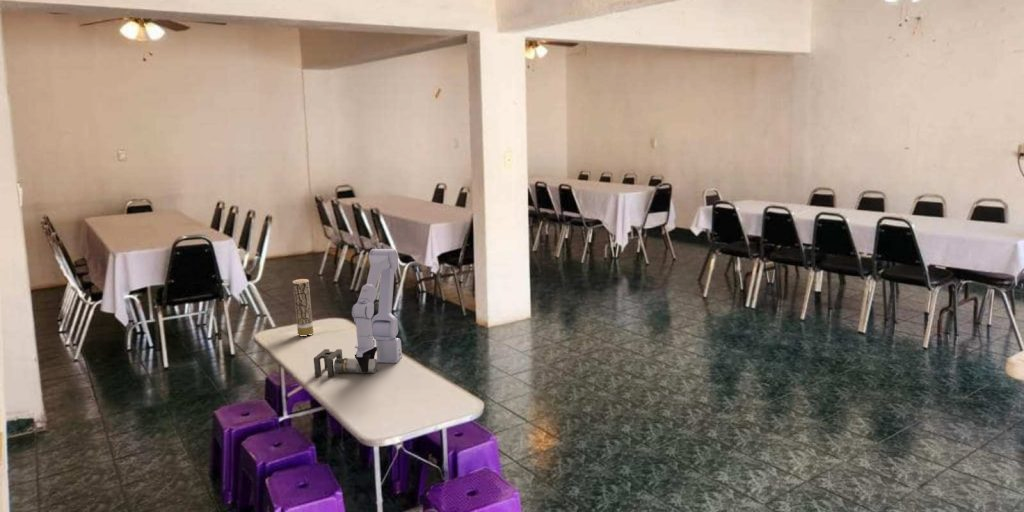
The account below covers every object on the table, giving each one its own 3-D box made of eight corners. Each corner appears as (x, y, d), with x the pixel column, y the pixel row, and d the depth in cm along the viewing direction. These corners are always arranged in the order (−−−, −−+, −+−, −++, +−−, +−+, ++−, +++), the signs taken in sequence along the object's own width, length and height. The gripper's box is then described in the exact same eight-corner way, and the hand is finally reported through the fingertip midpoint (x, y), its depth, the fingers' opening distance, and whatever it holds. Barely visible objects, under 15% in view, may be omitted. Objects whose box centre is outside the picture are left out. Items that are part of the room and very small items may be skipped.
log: (309, 337, 316) (303, 282, 312) (295, 337, 318) (289, 282, 313) (316, 332, 323) (311, 279, 318) (302, 332, 324) (297, 278, 320)
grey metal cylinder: (378, 369, 271) (377, 356, 270) (372, 375, 265) (371, 361, 263) (340, 369, 273) (339, 355, 272) (334, 374, 267) (332, 361, 266)
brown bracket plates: (343, 367, 275) (341, 349, 273) (332, 377, 265) (330, 358, 263) (326, 367, 276) (324, 349, 274) (315, 377, 266) (313, 358, 264)
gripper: (361, 328, 273) (363, 362, 275) (347, 340, 259) (350, 376, 261) (378, 328, 272) (381, 362, 274) (366, 340, 258) (368, 376, 260)
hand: (367, 369), depth 268 cm, fingers closed on grey metal cylinder, 5 cm apart
